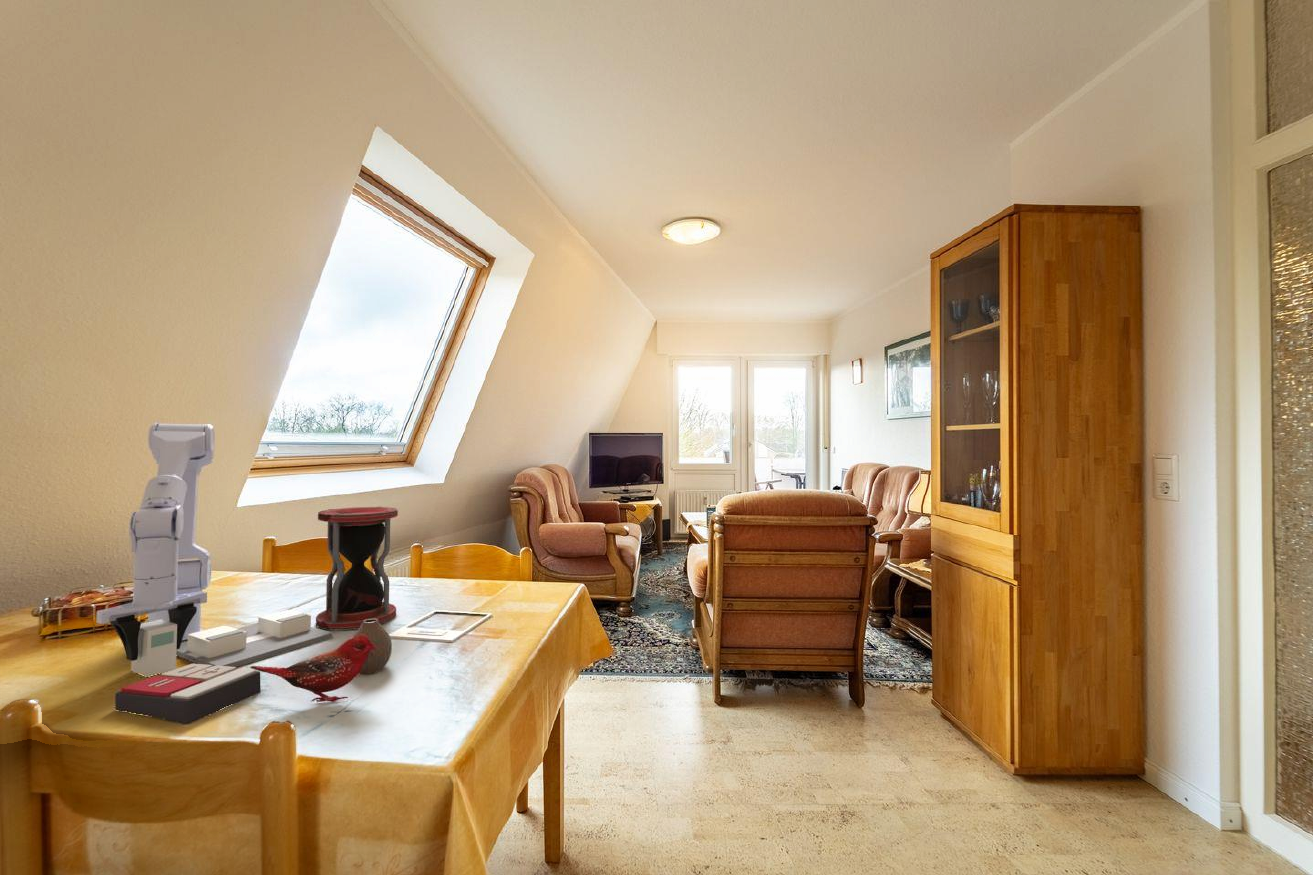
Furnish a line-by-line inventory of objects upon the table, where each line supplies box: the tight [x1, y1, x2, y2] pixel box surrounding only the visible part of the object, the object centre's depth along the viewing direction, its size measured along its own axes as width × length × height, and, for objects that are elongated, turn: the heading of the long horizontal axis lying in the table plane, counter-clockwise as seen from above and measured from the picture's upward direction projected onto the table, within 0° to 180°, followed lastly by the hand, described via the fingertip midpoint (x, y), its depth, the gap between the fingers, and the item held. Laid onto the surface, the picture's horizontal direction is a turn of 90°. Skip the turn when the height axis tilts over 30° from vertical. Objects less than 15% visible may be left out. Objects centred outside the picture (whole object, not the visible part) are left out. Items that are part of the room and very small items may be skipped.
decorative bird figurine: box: [249, 635, 377, 703], centre depth 84 cm, size 3×18×10 cm, turn 102°
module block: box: [130, 619, 177, 677], centre depth 96 cm, size 6×4×8 cm, turn 63°
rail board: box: [176, 609, 334, 668], centre depth 109 cm, size 20×20×4 cm
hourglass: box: [315, 506, 399, 631], centre depth 125 cm, size 16×16×25 cm
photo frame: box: [388, 609, 493, 643], centre depth 121 cm, size 15×1×18 cm
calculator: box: [114, 663, 262, 725], centre depth 85 cm, size 11×4×15 cm
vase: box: [352, 619, 392, 676], centre depth 96 cm, size 7×7×9 cm
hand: (154, 653), depth 96 cm, fingers open, 5 cm apart
